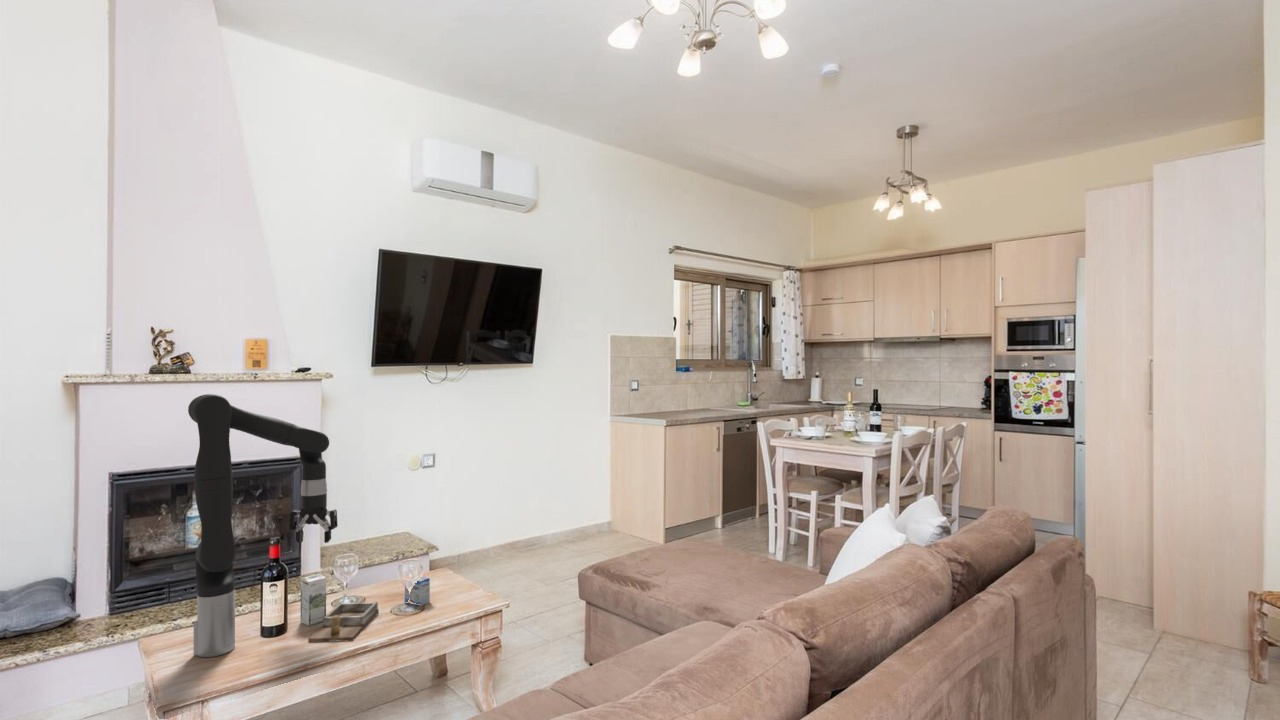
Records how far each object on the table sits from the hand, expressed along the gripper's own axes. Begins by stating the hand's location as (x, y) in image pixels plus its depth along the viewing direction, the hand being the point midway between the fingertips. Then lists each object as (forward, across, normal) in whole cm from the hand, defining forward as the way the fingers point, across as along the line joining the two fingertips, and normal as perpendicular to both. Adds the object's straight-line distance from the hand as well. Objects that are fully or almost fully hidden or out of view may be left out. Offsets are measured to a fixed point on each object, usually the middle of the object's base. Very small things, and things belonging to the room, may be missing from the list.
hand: (313, 542), depth 205 cm
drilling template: (+26, +12, -4) cm, 29 cm away
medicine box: (+26, +29, +15) cm, 42 cm away
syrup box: (+26, 0, 0) cm, 26 cm away
